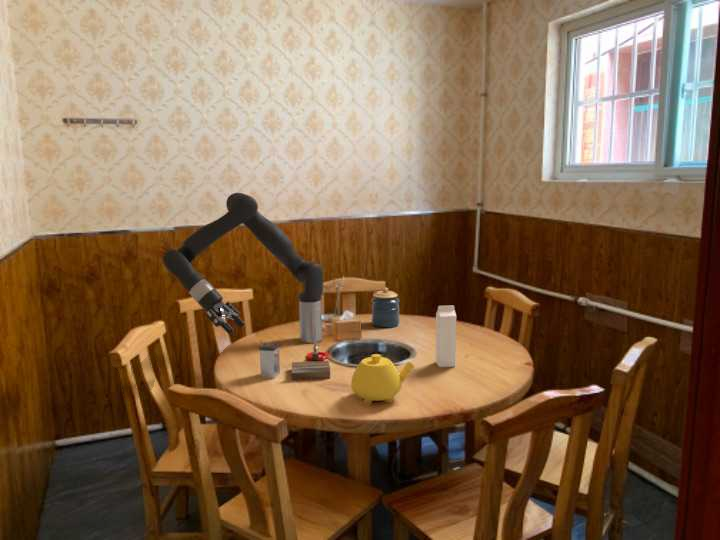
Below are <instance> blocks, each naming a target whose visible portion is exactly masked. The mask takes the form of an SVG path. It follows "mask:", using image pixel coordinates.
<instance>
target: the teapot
mask: <svg viewBox="0 0 720 540" xmlns="http://www.w3.org/2000/svg"><path fill="white" fill-rule="evenodd" d="M394 364H395V363H393V362H392V361H391V360H390V359H389V358H387V357H384V356H382V355H381V354H378V353H375V354H373V353H372V354H371V355H370V356H369V357H365V358H363V359H362V360H361V361H360V362H359V363H358V365H357V367H356V368H355V371H354V372H353V374H352V378H351V383H350V387H351V390H352V391H353V393H354V394H355V395H356V396H357V397H359V398H361V399H362V400H363V402H362V404H363V403H364V404H363V405H371V404H373V401H377V402H378V401H384V403H387V404H391V403H394V402H393V401H394V399H393V398H394V397H395V396H397V394H399V392H400V391H401V388H402V383H403V382H404V380H405V379H406V378H407V376H408V375H409V374H410V373H411V371H413V369H414V368H415V364H413V363H412V362H411V361H407V362H406V363H405V365H404V366H403V367H402V369H401V370H400V371H398V370H397V368H396V366H395V365H394Z"/></svg>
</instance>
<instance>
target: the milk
mask: <svg viewBox="0 0 720 540" xmlns="http://www.w3.org/2000/svg"><path fill="white" fill-rule="evenodd" d="M456 349H457V314H456V310H455V305H438V307H437V311H436V313H435V363H436V364H437V366H438V367H439V368H455V367H456V359H457V358H456V352H457V351H456ZM454 366H455V367H454Z"/></svg>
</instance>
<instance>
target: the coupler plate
mask: <svg viewBox="0 0 720 540" xmlns="http://www.w3.org/2000/svg"><path fill="white" fill-rule="evenodd" d="M291 363H292V364H291V381H304V380H321V379H322V380H323V379H324V378H327V379H331V366H330V361H329V360H324V361H298V362H294V361H293V362H291Z"/></svg>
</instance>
